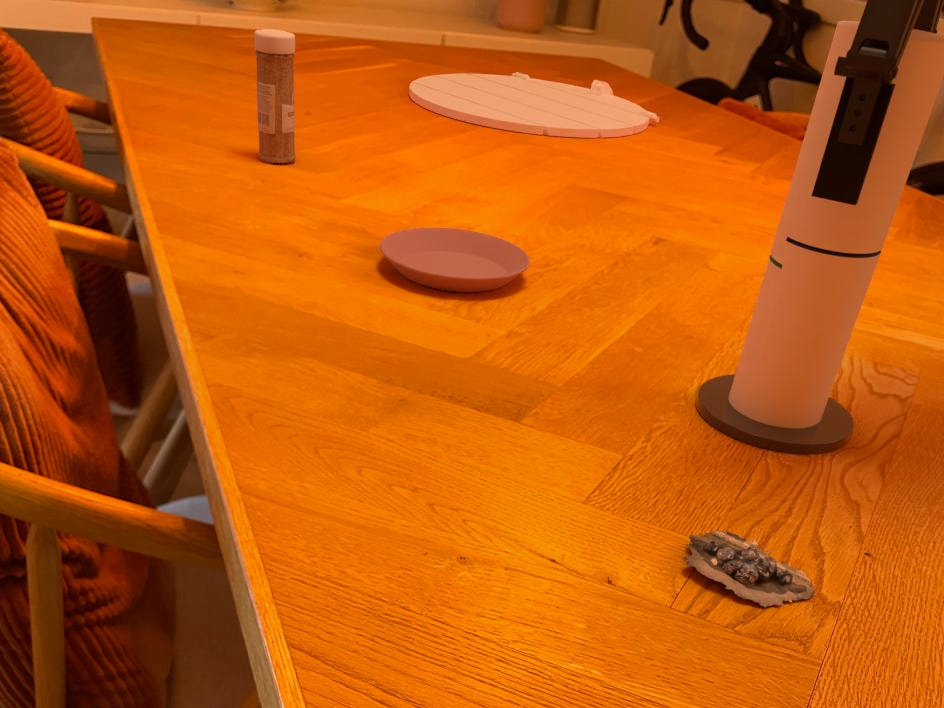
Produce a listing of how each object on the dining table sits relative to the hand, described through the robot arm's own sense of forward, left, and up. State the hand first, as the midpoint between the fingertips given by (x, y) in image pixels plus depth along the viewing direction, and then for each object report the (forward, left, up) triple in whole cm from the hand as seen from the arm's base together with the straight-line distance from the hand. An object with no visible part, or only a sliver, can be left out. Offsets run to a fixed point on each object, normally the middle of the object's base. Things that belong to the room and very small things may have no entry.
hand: (853, 179), depth 66 cm
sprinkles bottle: (+69, -31, -18) cm, 78 cm away
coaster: (0, 0, -17) cm, 17 cm away
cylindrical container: (0, 0, -17) cm, 17 cm away
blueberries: (-4, +23, -18) cm, 29 cm away
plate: (+34, -11, -18) cm, 40 cm away
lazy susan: (+62, -91, -18) cm, 112 cm away
